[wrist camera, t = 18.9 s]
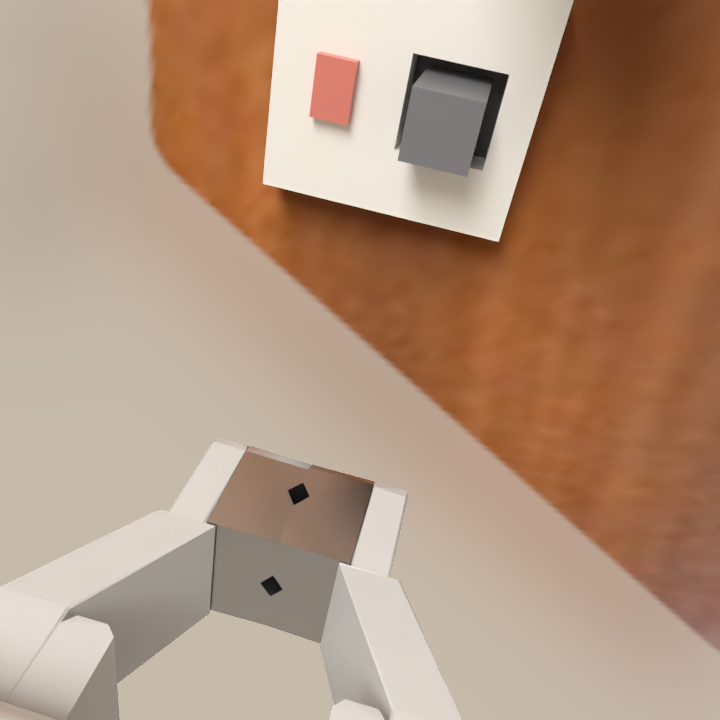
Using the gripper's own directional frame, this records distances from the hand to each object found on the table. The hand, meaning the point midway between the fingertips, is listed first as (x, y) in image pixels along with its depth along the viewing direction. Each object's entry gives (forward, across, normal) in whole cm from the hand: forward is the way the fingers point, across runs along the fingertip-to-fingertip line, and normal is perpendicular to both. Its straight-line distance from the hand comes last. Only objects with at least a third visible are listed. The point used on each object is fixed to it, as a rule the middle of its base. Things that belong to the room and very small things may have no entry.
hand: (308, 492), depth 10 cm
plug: (+37, +1, +2) cm, 37 cm away
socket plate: (+37, +4, +2) cm, 37 cm away
